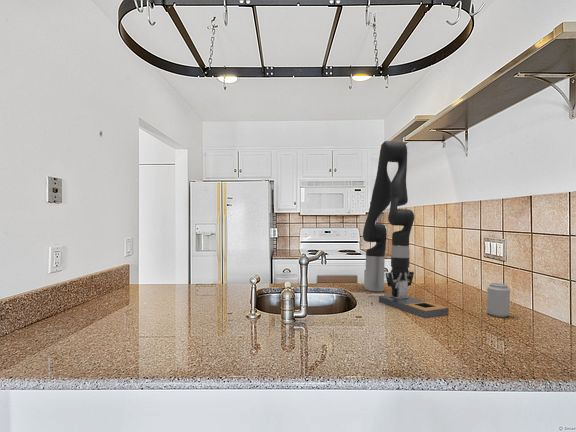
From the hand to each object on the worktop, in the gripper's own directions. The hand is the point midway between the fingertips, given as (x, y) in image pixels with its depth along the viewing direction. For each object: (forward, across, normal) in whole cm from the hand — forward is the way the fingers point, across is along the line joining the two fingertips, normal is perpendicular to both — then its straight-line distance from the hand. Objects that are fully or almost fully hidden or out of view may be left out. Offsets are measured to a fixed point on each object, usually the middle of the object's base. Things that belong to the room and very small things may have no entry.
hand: (399, 296), depth 154 cm
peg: (+3, 0, 0) cm, 3 cm away
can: (+4, -24, +28) cm, 37 cm away
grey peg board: (+3, 0, +7) cm, 8 cm away
